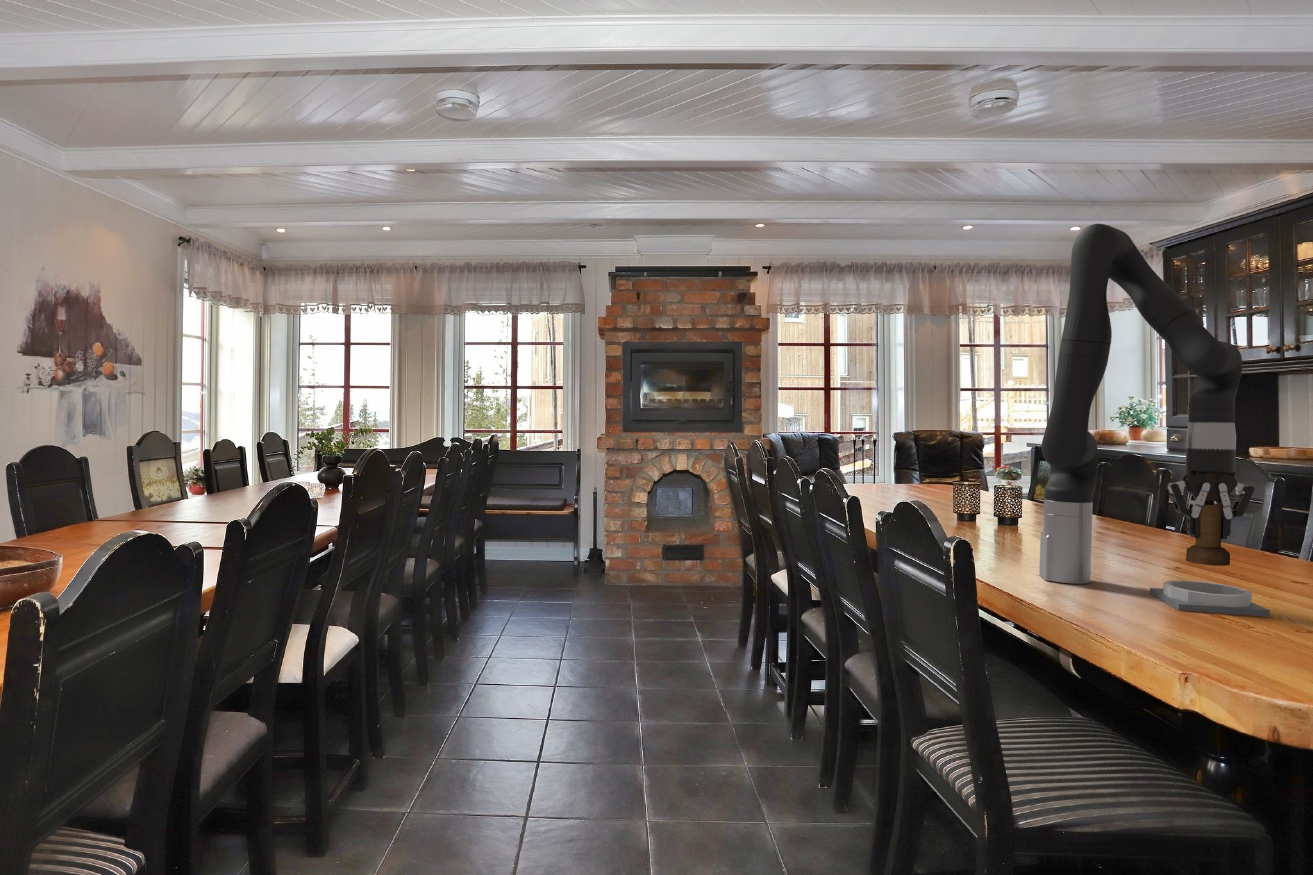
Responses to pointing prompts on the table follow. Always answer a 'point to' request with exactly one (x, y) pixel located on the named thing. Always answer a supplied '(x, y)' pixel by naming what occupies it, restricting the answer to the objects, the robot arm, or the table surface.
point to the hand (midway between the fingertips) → (1208, 537)
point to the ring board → (1210, 608)
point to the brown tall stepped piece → (1209, 534)
